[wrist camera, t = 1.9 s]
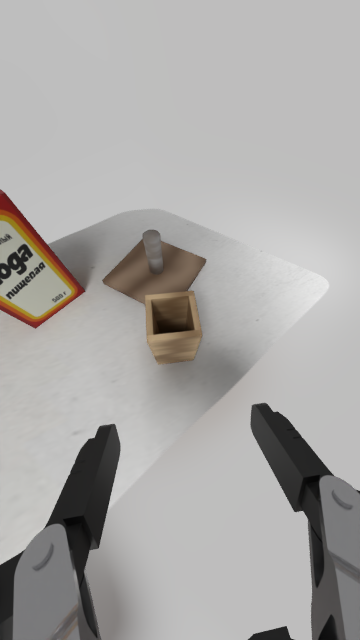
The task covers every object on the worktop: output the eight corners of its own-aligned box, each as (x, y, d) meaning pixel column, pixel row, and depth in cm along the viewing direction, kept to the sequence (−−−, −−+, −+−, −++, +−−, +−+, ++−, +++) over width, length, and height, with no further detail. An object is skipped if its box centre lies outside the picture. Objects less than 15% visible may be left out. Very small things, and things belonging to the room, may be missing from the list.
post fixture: (104, 284, 31) (82, 247, 24) (147, 239, 36) (139, 199, 29) (170, 316, 28) (167, 286, 21) (205, 262, 33) (213, 224, 26)
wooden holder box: (158, 364, 24) (146, 341, 15) (155, 331, 27) (145, 295, 18) (193, 360, 25) (202, 335, 16) (188, 328, 27) (193, 290, 18)
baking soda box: (35, 328, 27) (-129, 240, 12) (14, 306, 28) (-150, 206, 14) (85, 291, 30) (1, 188, 16) (64, 273, 32) (-29, 166, 17)
